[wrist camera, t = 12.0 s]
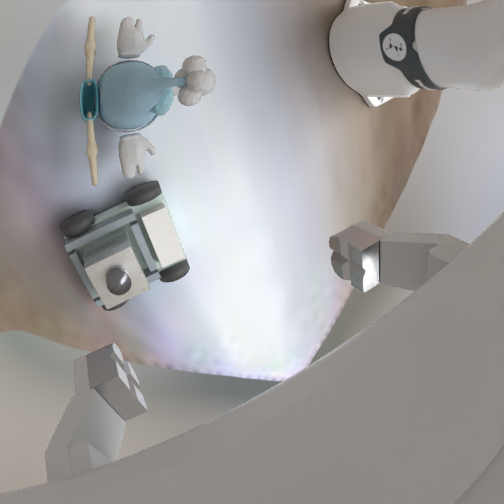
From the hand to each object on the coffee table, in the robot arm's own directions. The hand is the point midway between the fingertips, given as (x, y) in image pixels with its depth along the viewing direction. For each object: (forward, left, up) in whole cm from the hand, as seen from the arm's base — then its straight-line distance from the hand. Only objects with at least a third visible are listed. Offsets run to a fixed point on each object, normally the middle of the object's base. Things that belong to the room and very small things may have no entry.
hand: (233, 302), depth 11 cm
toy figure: (-2, -8, -29) cm, 30 cm away
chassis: (+4, +7, -29) cm, 30 cm away
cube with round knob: (+5, +7, -26) cm, 28 cm away
